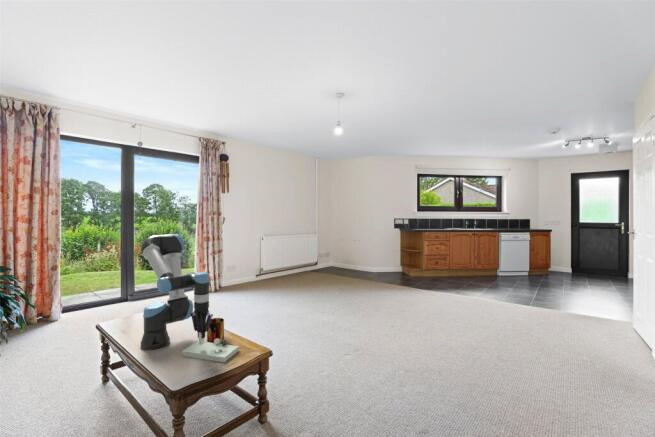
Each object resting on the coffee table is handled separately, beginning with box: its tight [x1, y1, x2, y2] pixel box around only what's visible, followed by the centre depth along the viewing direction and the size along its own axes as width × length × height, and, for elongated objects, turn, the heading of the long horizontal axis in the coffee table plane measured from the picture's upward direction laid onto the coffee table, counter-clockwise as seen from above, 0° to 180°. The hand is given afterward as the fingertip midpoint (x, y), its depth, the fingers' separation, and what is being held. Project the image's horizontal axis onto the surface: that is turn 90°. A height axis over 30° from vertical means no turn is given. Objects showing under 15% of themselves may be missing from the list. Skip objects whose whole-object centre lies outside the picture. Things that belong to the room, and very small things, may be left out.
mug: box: [206, 317, 225, 343], centre depth 194 cm, size 10×14×12 cm
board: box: [181, 340, 240, 363], centre depth 179 cm, size 26×14×2 cm, turn 74°
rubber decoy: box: [220, 338, 228, 346], centre depth 183 cm, size 3×3×3 cm
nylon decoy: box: [214, 338, 221, 344], centre depth 184 cm, size 3×3×3 cm
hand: (201, 343), depth 178 cm, fingers closed
